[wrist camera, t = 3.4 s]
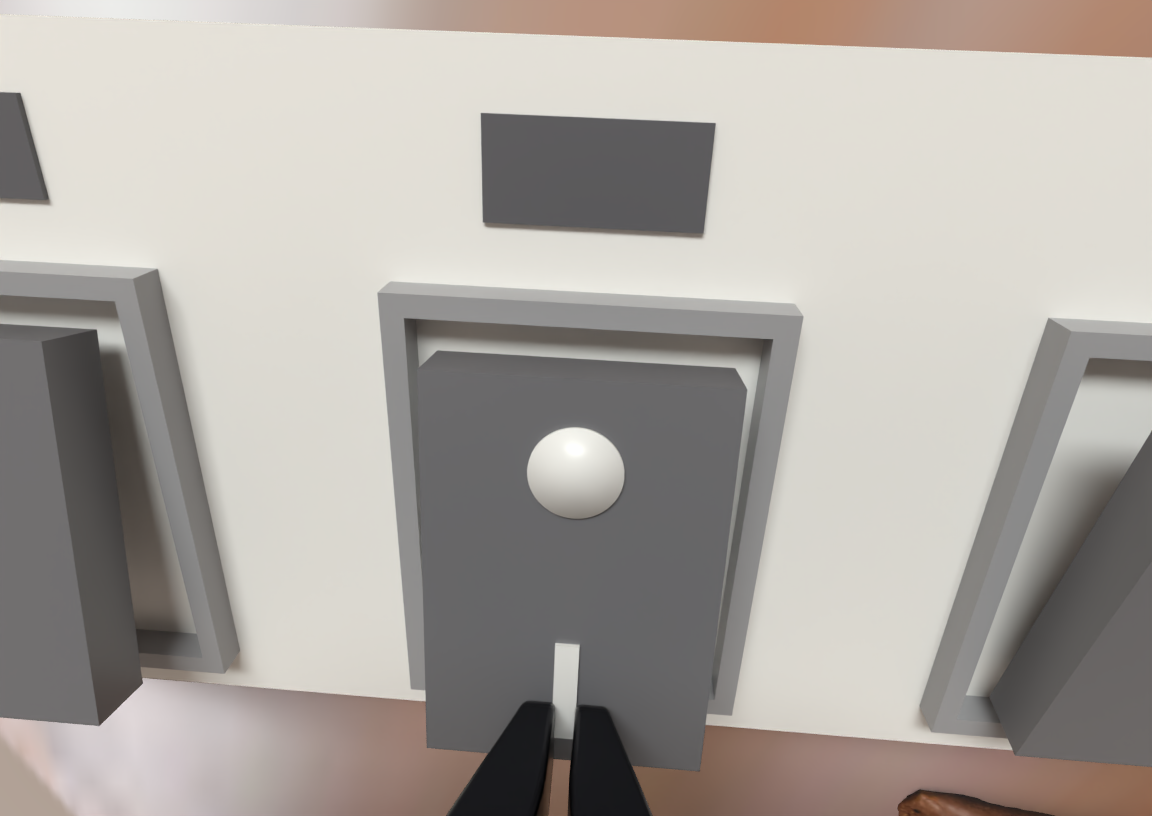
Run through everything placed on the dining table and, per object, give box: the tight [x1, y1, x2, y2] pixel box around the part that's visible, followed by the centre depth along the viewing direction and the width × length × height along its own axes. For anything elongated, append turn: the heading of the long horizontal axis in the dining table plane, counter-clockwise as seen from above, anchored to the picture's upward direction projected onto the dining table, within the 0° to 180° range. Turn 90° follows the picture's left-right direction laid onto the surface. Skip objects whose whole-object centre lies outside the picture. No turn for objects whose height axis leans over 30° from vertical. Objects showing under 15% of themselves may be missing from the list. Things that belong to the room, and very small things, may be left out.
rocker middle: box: [417, 350, 747, 771], centre depth 9 cm, size 4×5×1 cm
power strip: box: [0, 14, 1152, 750], centre depth 11 cm, size 28×10×4 cm, turn 88°
